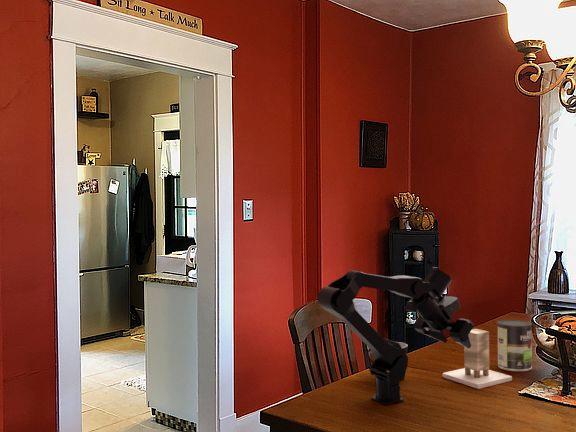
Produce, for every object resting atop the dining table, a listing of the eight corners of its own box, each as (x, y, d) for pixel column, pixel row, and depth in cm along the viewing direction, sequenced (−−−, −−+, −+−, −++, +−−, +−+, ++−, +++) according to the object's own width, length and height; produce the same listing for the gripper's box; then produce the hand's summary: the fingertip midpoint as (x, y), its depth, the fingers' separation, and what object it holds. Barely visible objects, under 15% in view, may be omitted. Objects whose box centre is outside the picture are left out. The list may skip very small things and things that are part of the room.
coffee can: (538, 367, 199) (538, 322, 199) (521, 373, 192) (521, 327, 192) (508, 361, 207) (507, 318, 206) (491, 367, 200) (490, 322, 200)
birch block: (477, 371, 185) (476, 333, 184) (464, 367, 189) (464, 330, 189) (489, 368, 187) (489, 331, 187) (476, 364, 192) (475, 328, 191)
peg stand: (442, 377, 191) (442, 366, 191) (475, 369, 198) (475, 359, 198) (478, 388, 179) (478, 377, 179) (512, 380, 186) (512, 369, 186)
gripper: (468, 291, 172) (497, 327, 178) (421, 284, 188) (448, 318, 194) (447, 323, 168) (477, 359, 174) (400, 313, 184) (429, 347, 190)
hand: (457, 344), depth 183 cm, fingers open, 9 cm apart
